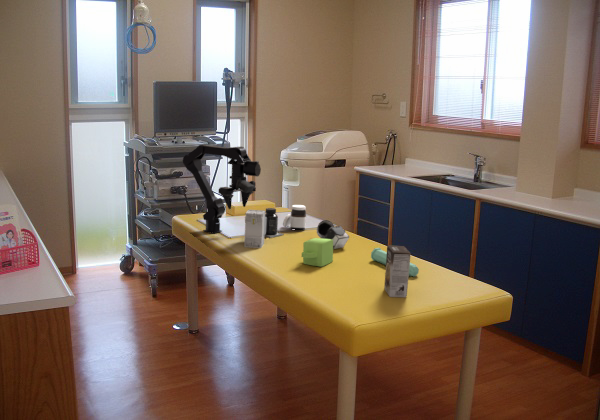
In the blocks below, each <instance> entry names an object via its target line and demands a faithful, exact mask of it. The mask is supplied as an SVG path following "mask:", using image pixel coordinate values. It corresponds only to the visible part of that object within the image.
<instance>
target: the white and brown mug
mask: <svg viewBox="0 0 600 420" xmlns="http://www.w3.org/2000/svg"><path fill="white" fill-rule="evenodd" d="M306 208H307V207H306V205H303V204H293V205H291V211H290V213H288V214H287V215H286V216H285V218H284V220H283V223H282V226H283V227H285V228H287V227H286V226H288V227H290V230H292V229H295V230H302V231H305V230H306V228H307V224H306V223H307V209H306ZM295 230H294V231H295Z"/></svg>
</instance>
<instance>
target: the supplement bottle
mask: <svg viewBox="0 0 600 420" xmlns="http://www.w3.org/2000/svg"><path fill="white" fill-rule="evenodd" d="M265 217H267V219H266V234H265V235H276V234H277V233H278V226H279V225H278V224H279V222H278V221H279V218H278V217H279V216H278V215H277V209H276V208H275V207H267V208H265Z"/></svg>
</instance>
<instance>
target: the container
mask: <svg viewBox="0 0 600 420" xmlns="http://www.w3.org/2000/svg"><path fill="white" fill-rule="evenodd" d="M386 257H387V251H385V250H383V249H381V248H380V247H375V248H373V250H372V251H371V253H370V258H371V260H372V261H374V262H378V263H380V264H381V265H385V266H386ZM419 272H420V271H419V267H418V266H417V264H414V263H412V262H410V267H409V277H411V276H413V277H417V276H418V274H419Z"/></svg>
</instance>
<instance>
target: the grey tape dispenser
mask: <svg viewBox="0 0 600 420" xmlns="http://www.w3.org/2000/svg"><path fill="white" fill-rule="evenodd" d="M316 234H317V236H318V238H322V239H331V240H333V250H336V249H343V248H344V247H345V245H346V243H347V242H348V241H349V238H350V235H349V234H348V233H347V232H346V230H345V229H344V228H343V226H341V225H337V226H335V225H334V223H333V222H332V221H330V220H325V219H324V220H322V221H320V222H319V223H318V225H317V227H316Z"/></svg>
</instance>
